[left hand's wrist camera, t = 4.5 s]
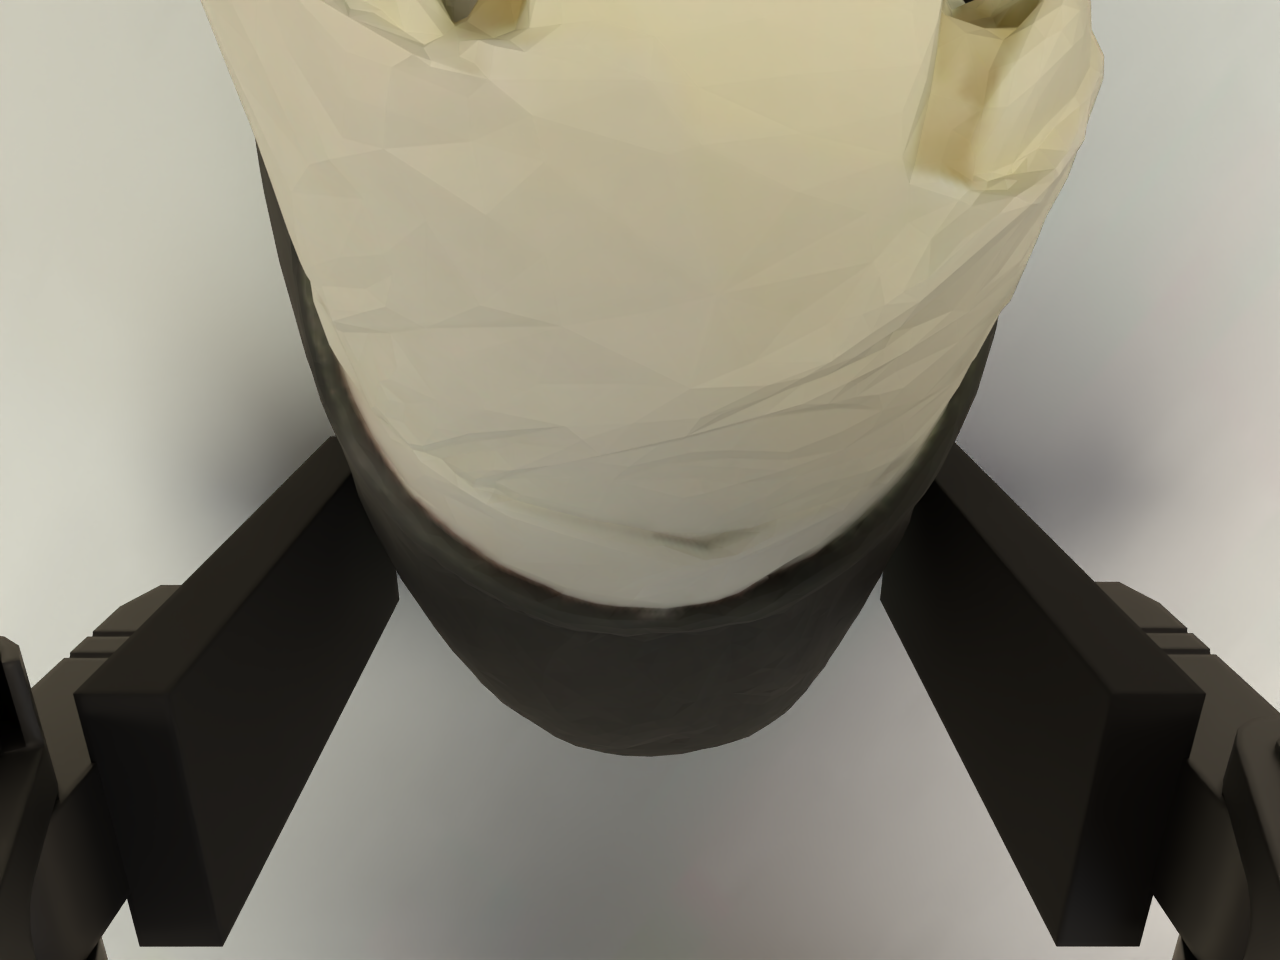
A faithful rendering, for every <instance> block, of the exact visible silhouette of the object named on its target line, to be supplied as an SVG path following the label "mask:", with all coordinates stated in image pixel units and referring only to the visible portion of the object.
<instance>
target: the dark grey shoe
mask: <svg viewBox="0 0 1280 960" xmlns="http://www.w3.org/2000/svg"><path fill="white" fill-rule="evenodd" d="M201 2H202V5H203V7H204V10H205V12H206V15H207V17H208V20H209V23H210V25H211V28H212V30H213V33H214V35H215V38H216V40H217V43H218V45H219V48H220V50H221V53H222V55H223V58H224V60H225V63H226V65H227V68H228V70H229V73H230V75H231V78H232V80H233V83H234V85H235V88H236V90H237V93H238V95H239V98H240V100H241V103H242V105H243V108H244V110H245V113H246V115H247V118H248V120H249V123H250V125H251V128H252V130H253V133H254V136H255V140H256V147H257V153H258V160H259V166H260V172H261V177H262V183H263V189H264V194H265V199H266V203H267V208H268V212H269V217H270V221H271V226H272V230H273V235H274V239H275V244H276V248H277V253H278V257H279V262H280V265H281V269H282V272H283V276H284V279H285V283H286V287H287V290H288V294H289V297H290V301H291V304H292V308H293V311H294V315H295V318H296V322H297V325H298V329H299V332H300V336H301V339H302V343H303V346H304V350H305V353H306V357H307V360H308V363H309V365H310V368H311V371H312V374H313V377H314V380H315V383H316V387H317V390H318V393H319V396H320V400H321V402H322V405H323V407H324V409H325V412H326V414H327V416H328V419H329V421H330V423H331V425H332V428H333V430H334V432H335V434H336V437H337V439H338V441H339V443H340V445H341V447H342V449H343V452H344V454H345V457H346V459H347V462H348V465H349V467H350V470H351V472H352V475H353V479H354V482H355V486H356V490H357V493H358V497H359V499H360V501H361V503H362V505H363V507H364V509H365V511H366V514H367V516H368V518H369V520H370V522H371V524H372V526H373V529H374V531H375V533H376V535H377V536H378V538H379V540H380V542H381V544H382V545H383V547H384V549H385V551H386V553H387V554H388V556H389V558H390V560H391V561H392V563H393V565H394V567H395V569H396V570H397V572H398V574H399V576H400V577H401V579H402V581H403V582H404V584H405V585H406V587H407V588H408V590H409V591H410V592H411V594H412V595H413V597H414V598H415V600H416V601H417V602H418V604H419V605H420V607H421V608H422V610H423V611H424V613H425V614H426V616H427V617H428V618H429V620H430V621H431V623H432V624H433V626H434V627H435V629H436V630H437V631H438V632H439V634H440V635H441V636H442V638H443V639H444V640H445V641H446V643H447V644H448V645H449V647H450V648H451V649H452V651H453V652H454V653H455V654H456V655H457V656H458V657H459V658H460V659H461V660H462V661H463V662H464V664H465V665H466V666H467V667H468V668H469V669H470V670H471V671H472V672H473V673H474V675H475V676H476V677H477V678H478V679H479V681H480V682H481V683H482V684H483V685H484V686H485V687H486V688H488V689H489V690H490V691H491V692H492V693H493V694H494V695H495V696H496V697H497V698H498V699H499V700H500V701H501V702H502V703H504V704H505V705H507V706H508V707H510V708H511V709H513V710H514V711H516V712H517V713H519V714H520V715H522V716H523V717H525V718H527V719H529V720H530V721H532V722H533V723H535V724H537V725H538V726H540V727H541V728H543V729H544V730H546V731H548V732H549V733H550V734H552V735H553V736H555V737H557V738H559V739H562V740H564V741H566V742H568V743H571V744H573V745H575V746H578V747H583V748H587V749H591V750H595V751H600V752H604V753H610V754H617V755H624V756H662V755H674V754H683V753H688V752H692V751H697V750H701V749H706V748H711V747H717V746H720V745H723V744H727V743H730V742H733V741H737V740H740V739H743V738H746V737H749V736H750V735H752V734H754V733H755V732H757V731H759V730H760V729H762V728H764V727H765V726H767V725H769V724H770V723H771V722H773V721H774V720H776V719H777V718H779V717H780V716H781V715H783V714H784V713H785V712H787V711H788V710H789V709H790V708H791V707H792V706H793V704H794V703H795V702H796V701H797V700H798V699H799V698H800V697H801V696H802V695H803V694H804V692H805V691H806V690H807V689H808V687H809V686H810V684H811V683H812V682H813V680H814V679H815V678H816V677H817V676H818V674H819V673H820V672H821V671H822V669H823V668H824V667H825V666H826V664H827V662H828V660H829V658H830V657H831V655H832V654H833V653H834V651H835V650H836V648H837V647H838V645H839V644H840V642H841V640H842V639H843V637H844V636H845V634H846V632H847V631H848V629H849V628H850V626H851V625H852V623H853V622H854V620H855V619H856V617H857V616H858V614H859V612H860V611H861V609H862V607H863V606H864V604H865V602H866V600H867V599H868V597H869V595H870V593H871V591H872V590H873V588H874V586H875V585H876V583H877V581H878V580H879V578H880V576H881V574H882V572H883V570H884V568H885V567H886V565H887V563H888V561H889V559H890V558H891V556H892V554H893V553H894V551H895V549H896V548H897V546H898V544H899V543H900V541H901V540H902V537H903V535H904V533H905V531H906V529H907V527H908V525H909V523H910V519H911V515H912V511H913V508H914V506H915V505H916V504H917V503H918V501H919V500H920V499H921V498H922V497H923V495H924V494H925V493H926V491H927V490H928V488H929V487H930V485H931V484H932V482H933V481H934V479H935V478H936V476H937V474H938V473H939V471H940V469H941V467H942V465H943V463H944V461H945V459H946V457H947V455H948V453H949V451H950V449H951V447H952V446H953V444H954V442H955V440H956V438H957V436H958V434H959V431H960V429H961V427H962V425H963V423H964V420H965V418H966V416H967V414H968V411H969V409H970V407H971V405H972V402H973V400H974V398H975V396H976V394H977V390H978V387H979V384H980V381H981V377H982V374H983V371H984V367H985V364H986V361H987V358H988V354H989V351H990V348H991V345H992V341H993V338H994V334H995V330H996V326H997V321H998V316H999V314H1000V312H1001V311H1002V309H1003V308H1004V307H1005V306H1006V305H1007V304H1008V303H1009V302H1010V300H1011V298H1012V296H1013V294H1014V291H1015V289H1016V287H1017V285H1018V282H1019V280H1020V278H1021V276H1022V273H1023V271H1024V269H1025V267H1026V264H1027V262H1028V260H1029V257H1030V255H1031V253H1032V250H1033V248H1034V246H1035V243H1036V241H1037V239H1038V236H1039V234H1040V231H1041V228H1042V226H1043V223H1044V221H1045V218H1046V216H1047V214H1048V212H1049V211H1050V209H1051V207H1052V205H1053V203H1054V201H1055V200H1056V198H1057V196H1058V194H1059V192H1060V191H1061V189H1062V187H1063V185H1064V183H1065V181H1066V180H1067V178H1068V175H1069V173H1070V170H1071V167H1072V164H1073V162H1074V159H1075V156H1076V153H1077V151H1078V149H1079V148H1080V146H1081V144H1082V143H1083V141H1084V139H1085V133H1086V126H1087V123H1088V120H1089V117H1090V114H1091V111H1092V109H1093V106H1094V103H1095V100H1096V97H1097V95H1098V92H1099V89H1100V86H1101V84H1102V81H1103V72H1104V55H1103V53H1102V51H1101V49H1100V46H1099V44H1098V42H1097V40H1096V38H1095V36H1094V34H1093V32H1092V30H1091V2H1090V0H201Z"/></svg>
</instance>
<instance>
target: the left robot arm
mask: <svg viewBox="0 0 1280 960" xmlns="http://www.w3.org/2000/svg"><path fill="white" fill-rule="evenodd" d="M880 600H881V602H882V604H883V606H884V608H885V610H886V612H887V614H888V616H889V618H890V620H891V622H892V624H893V626H894V628H895V630H896V632H897V634H898V636H899V638H900V640H901V642H902V644H903V646H904V648H905V650H906V651H907V653H908V655H909V657H910V659H911V661H912V663H913V665H914V667H915V669H916V671H917V673H918V675H919V677H920V679H921V681H922V683H923V685H924V687H925V689H926V691H927V693H928V695H929V697H930V699H931V701H932V703H933V705H934V706H935V708H936V710H937V712H938V714H939V716H940V718H941V720H942V722H943V724H944V726H945V728H946V730H947V732H948V734H949V736H950V738H951V740H952V742H953V744H954V746H955V748H956V750H957V752H958V754H959V756H960V758H961V760H962V762H963V763H964V765H965V767H966V769H967V771H968V773H969V775H970V777H971V779H972V781H973V783H974V785H975V787H976V789H977V791H978V793H979V795H980V797H981V799H982V801H983V803H984V805H985V807H986V809H987V811H988V813H989V815H990V817H991V819H992V820H993V822H994V824H995V826H996V828H997V830H998V832H999V834H1000V836H1001V838H1002V840H1003V842H1004V844H1005V846H1006V848H1007V850H1008V852H1009V854H1010V856H1011V858H1012V860H1013V862H1014V864H1015V866H1016V868H1017V870H1018V872H1019V874H1020V875H1021V877H1022V879H1023V881H1024V883H1025V885H1026V887H1027V889H1028V891H1029V893H1030V895H1031V897H1032V899H1033V901H1034V903H1035V905H1036V907H1037V909H1038V911H1039V913H1040V915H1041V917H1042V919H1043V921H1044V923H1045V925H1046V927H1047V929H1048V931H1049V932H1050V934H1051V936H1052V938H1053V940H1054V942H1055V944H1056V946H1140V942H1141V939H1142V935H1143V931H1144V927H1145V923H1146V920H1147V916H1148V912H1149V908H1150V905H1151V901H1152V897H1153V895H1154V897H1155V898H1156V900H1157V901H1158V903H1159V904H1160V906H1161V907H1162V909H1163V910H1164V912H1165V913H1166V915H1167V916H1168V918H1169V919H1170V921H1171V922H1172V924H1173V925H1174V927H1175V928H1176V930H1177V931H1178V933H1179V937H1178V940H1177V944H1176V948H1175V951H1174V955H1173V958H1172V960H1280V713H1279V712H1278V711H1277V710H1276V709H1275V708H1274V707H1273V706H1272V705H1271V704H1269V703H1268V702H1267V701H1266V700H1265V699H1264V698H1263V697H1262V696H1261V695H1260V694H1259V693H1257V692H1256V691H1255V690H1254V689H1253V688H1252V687H1251V686H1250V685H1249V684H1248V683H1247V682H1245V681H1244V680H1243V679H1242V678H1241V677H1240V676H1239V675H1238V674H1237V673H1236V672H1234V671H1233V670H1232V669H1231V668H1230V667H1229V666H1228V665H1227V664H1226V663H1225V662H1224V661H1222V660H1221V659H1220V658H1219V657H1218V656H1217V655H1211V654H1210V649H1209V648H1208V647H1207V646H1206V645H1205V644H1204V643H1203V642H1202V641H1201V640H1199V639H1198V638H1197V637H1196V636H1195V635H1194V634H1193V633H1187V628H1186V627H1185V626H1184V625H1183V624H1182V623H1181V622H1180V621H1179V620H1178V619H1176V618H1175V617H1174V616H1173V615H1172V614H1171V613H1170V612H1169V611H1168V610H1167V609H1166V608H1164V607H1163V606H1162V605H1161V604H1160V603H1158V602H1156V601H1155V600H1153V599H1151V598H1149V597H1147V596H1145V595H1143V594H1141V593H1139V592H1137V591H1135V590H1133V589H1132V588H1130V587H1128V586H1126V585H1124V584H1122V583H1120V582H1094V581H1093V580H1092V579H1091V578H1090V577H1089V576H1088V575H1087V574H1086V573H1085V572H1084V571H1083V570H1082V569H1081V568H1080V567H1079V566H1078V565H1077V564H1076V563H1075V562H1074V561H1073V560H1072V559H1071V558H1070V557H1069V556H1068V555H1067V554H1066V553H1065V552H1064V551H1063V550H1062V549H1061V548H1060V547H1059V546H1058V545H1057V544H1056V543H1055V542H1054V541H1053V540H1052V539H1051V538H1050V537H1049V536H1048V535H1047V534H1046V533H1045V532H1044V531H1043V530H1042V529H1041V528H1040V527H1039V526H1038V525H1037V524H1036V523H1035V522H1034V521H1033V520H1032V519H1031V518H1030V517H1029V516H1028V515H1027V514H1026V513H1025V512H1024V511H1023V510H1022V509H1021V508H1020V507H1019V506H1018V505H1017V504H1016V503H1015V502H1014V501H1013V500H1012V499H1011V498H1010V497H1009V496H1008V495H1007V494H1006V493H1005V492H1004V491H1003V490H1002V489H1001V488H1000V487H999V486H998V485H997V484H996V483H995V482H994V481H993V480H992V479H991V478H990V477H989V476H988V475H987V474H986V473H985V472H984V471H983V470H982V469H981V468H980V467H979V466H978V465H977V464H976V463H975V462H974V461H973V460H972V459H971V458H970V457H969V456H968V455H967V454H966V453H965V452H964V451H963V450H962V449H961V448H960V447H959V446H958V445H957V444H956V443H955V442H954V444H953V446H952V447H951V449H950V451H949V453H948V455H947V457H946V459H945V461H944V463H943V465H942V467H941V469H940V471H939V473H938V474H937V476H936V478H935V479H934V481H933V482H932V484H931V485H930V487H929V488H928V490H927V491H926V493H925V494H924V495H923V497H922V498H921V499H920V500H919V501H918V503H917V504H916V505H915V506H914V508H913V511H912V515H911V519H910V523H909V525H908V527H907V529H906V531H905V533H904V535H903V537H902V540H901V541H900V543H899V544H898V546H897V548H896V549H895V551H894V553H893V554H892V556H891V558H890V559H889V561H888V563H887V565H886V567H885V568H884V570H883V578H882V587H881V596H880ZM398 601H399V593H398V584H397V575H396V569H395V567H394V565H393V563H392V561H391V560H390V558H389V556H388V554H387V553H386V551H385V549H384V547H383V545H382V544H381V542H380V540H379V538H378V536H377V535H376V533H375V531H374V529H373V526H372V524H371V522H370V520H369V518H368V516H367V514H366V511H365V509H364V507H363V505H362V503H361V501H360V499H359V497H358V493H357V490H356V486H355V482H354V479H353V475H352V472H351V470H350V467H349V465H348V462H347V459H346V457H345V454H344V452H343V449H342V447H341V445H340V443H339V441H338V439H337V437H329V438H328V439H327V440H326V441H325V442H324V443H323V444H322V445H321V446H320V447H319V448H318V449H317V450H316V451H315V452H314V453H313V454H312V455H311V456H310V457H309V458H308V459H307V460H306V461H305V462H304V463H303V464H302V465H301V466H300V467H299V468H298V469H297V470H296V471H295V472H294V473H293V474H292V475H291V476H290V477H289V478H288V479H287V480H286V481H285V482H284V483H283V484H282V485H281V486H280V487H279V488H278V489H277V490H276V491H275V492H274V493H273V494H272V495H271V496H270V497H269V498H268V499H267V500H266V501H265V502H264V503H263V504H262V505H261V506H260V507H259V508H258V509H257V510H256V511H255V512H254V513H253V514H252V515H251V516H250V517H249V518H248V519H247V520H246V521H245V522H244V523H243V524H242V525H241V526H240V527H239V528H238V529H237V530H236V531H235V532H234V533H233V534H232V535H231V536H230V537H229V538H228V539H227V540H226V541H225V542H224V543H223V544H222V545H221V546H220V547H219V548H218V549H217V550H216V551H215V552H214V553H213V554H212V555H211V556H210V557H209V558H208V559H207V560H206V561H205V562H204V563H203V564H202V565H201V566H200V567H199V568H198V569H197V570H196V571H195V572H194V573H193V574H192V575H191V576H190V577H189V578H188V579H187V580H186V581H185V582H184V583H183V584H182V585H160V586H158V587H156V588H154V589H153V590H151V591H149V592H147V593H145V594H143V595H141V596H139V597H137V598H135V599H134V600H132V601H130V602H128V603H126V604H124V605H122V606H120V607H119V608H118V609H117V610H116V611H115V612H114V613H113V614H112V615H110V616H109V617H108V618H107V619H106V620H105V621H104V622H103V623H102V624H101V625H100V626H98V627H97V628H96V629H95V630H94V631H93V636H92V637H87V638H85V639H84V640H83V641H82V642H81V643H80V644H79V645H78V646H77V647H76V648H75V649H74V650H72V651H71V652H70V658H64V659H63V660H62V661H60V662H59V663H58V664H57V665H56V666H55V667H54V668H53V669H52V670H51V671H50V672H49V673H47V674H46V675H45V676H44V677H43V678H42V679H41V680H40V681H39V682H38V683H37V684H36V685H34V686H33V687H32V688H31V687H30V683H29V680H28V676H27V673H26V669H25V666H24V662H23V659H22V655H21V652H20V648H19V645H17V644H15V643H14V642H12V641H10V640H9V639H7V638H6V637H3V636H0V960H108V958H107V955H106V951H105V948H104V944H103V940H102V935H103V934H104V932H105V931H106V929H107V928H108V926H109V925H110V923H111V922H112V920H113V919H114V917H115V916H116V914H117V913H118V911H119V910H120V908H121V907H122V905H123V904H124V902H125V901H126V899H127V900H128V904H129V908H130V911H131V915H132V919H133V923H134V927H135V930H136V934H137V938H138V942H139V945H140V947H192V946H223V945H224V943H225V941H226V939H227V937H228V935H229V933H230V931H231V929H232V927H233V925H234V923H235V921H236V919H237V917H238V915H239V913H240V911H241V909H242V908H243V906H244V904H245V902H246V900H247V898H248V896H249V894H250V892H251V890H252V888H253V886H254V884H255V882H256V880H257V878H258V876H259V874H260V872H261V870H262V868H263V866H264V864H265V862H266V860H267V858H268V856H269V854H270V852H271V851H272V849H273V847H274V845H275V843H276V841H277V839H278V837H279V835H280V833H281V831H282V829H283V827H284V825H285V823H286V821H287V819H288V817H289V815H290V813H291V811H292V809H293V807H294V805H295V803H296V801H297V799H298V797H299V796H300V794H301V792H302V790H303V788H304V786H305V784H306V782H307V780H308V778H309V776H310V774H311V772H312V770H313V768H314V766H315V764H316V762H317V760H318V758H319V756H320V754H321V752H322V750H323V748H324V746H325V744H326V742H327V741H328V739H329V737H330V735H331V733H332V731H333V729H334V727H335V725H336V723H337V721H338V719H339V717H340V715H341V713H342V711H343V709H344V707H345V705H346V703H347V701H348V699H349V697H350V695H351V693H352V691H353V689H354V687H355V686H356V684H357V682H358V680H359V678H360V676H361V674H362V672H363V670H364V668H365V666H366V664H367V662H368V660H369V658H370V656H371V654H372V652H373V650H374V648H375V646H376V644H377V642H378V640H379V638H380V636H381V634H382V632H383V630H384V629H385V627H386V625H387V623H388V621H389V619H390V617H391V615H392V613H393V611H394V609H395V607H396V605H397V603H398Z"/></svg>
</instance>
